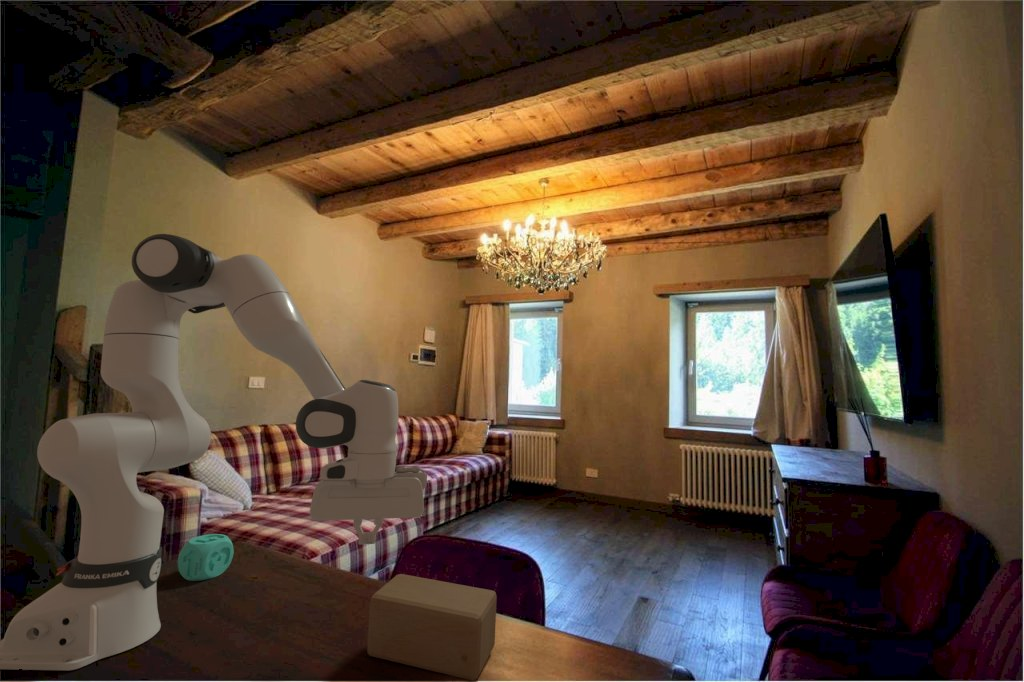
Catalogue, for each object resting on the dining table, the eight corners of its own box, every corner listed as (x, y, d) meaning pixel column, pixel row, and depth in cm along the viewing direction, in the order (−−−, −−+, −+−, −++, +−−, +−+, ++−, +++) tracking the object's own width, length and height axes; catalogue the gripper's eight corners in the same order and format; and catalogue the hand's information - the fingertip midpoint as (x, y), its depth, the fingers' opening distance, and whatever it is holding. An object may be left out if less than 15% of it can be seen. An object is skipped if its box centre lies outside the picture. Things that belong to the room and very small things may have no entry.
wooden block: (364, 657, 75) (476, 684, 70) (368, 595, 76) (479, 618, 71) (394, 625, 85) (496, 647, 80) (398, 570, 86) (498, 589, 80)
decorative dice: (174, 578, 104) (179, 541, 104) (206, 565, 111) (210, 532, 112) (201, 583, 101) (205, 546, 102) (232, 570, 109) (236, 536, 110)
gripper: (426, 463, 90) (423, 535, 89) (317, 464, 86) (312, 540, 84) (428, 469, 84) (424, 546, 83) (311, 470, 80) (304, 551, 78)
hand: (366, 543), depth 83 cm, fingers closed
